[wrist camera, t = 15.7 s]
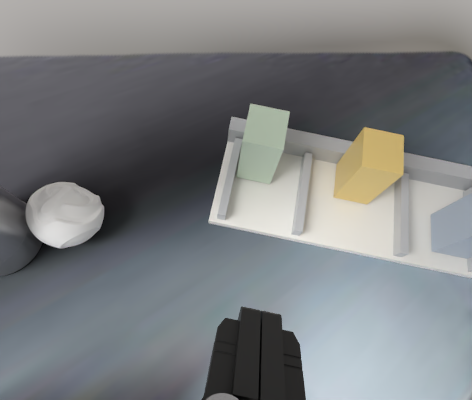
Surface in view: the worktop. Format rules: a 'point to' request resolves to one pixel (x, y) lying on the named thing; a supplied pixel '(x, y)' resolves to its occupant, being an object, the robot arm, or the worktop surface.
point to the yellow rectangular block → (369, 166)
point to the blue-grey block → (453, 229)
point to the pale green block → (262, 143)
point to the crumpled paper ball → (64, 214)
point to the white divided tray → (341, 202)
